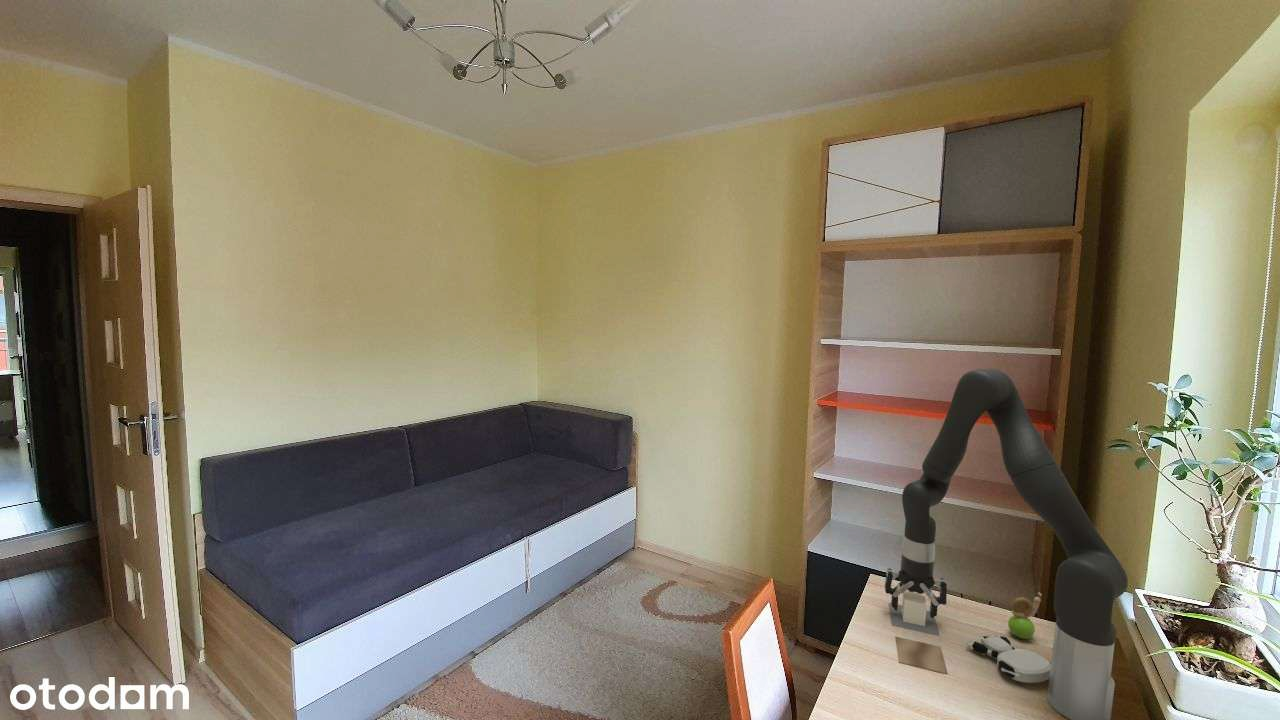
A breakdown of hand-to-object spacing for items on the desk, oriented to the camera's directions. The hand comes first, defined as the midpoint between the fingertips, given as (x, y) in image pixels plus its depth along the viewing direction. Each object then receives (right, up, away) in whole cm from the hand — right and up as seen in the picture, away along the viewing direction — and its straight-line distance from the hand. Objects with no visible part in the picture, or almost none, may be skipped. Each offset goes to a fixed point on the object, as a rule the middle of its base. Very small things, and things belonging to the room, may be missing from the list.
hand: (913, 612), depth 138 cm
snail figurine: (+24, -3, -6) cm, 25 cm away
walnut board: (-6, -4, -14) cm, 15 cm away
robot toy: (+13, -5, -17) cm, 22 cm away
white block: (0, -2, 0) cm, 2 cm away
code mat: (0, -2, 0) cm, 2 cm away
